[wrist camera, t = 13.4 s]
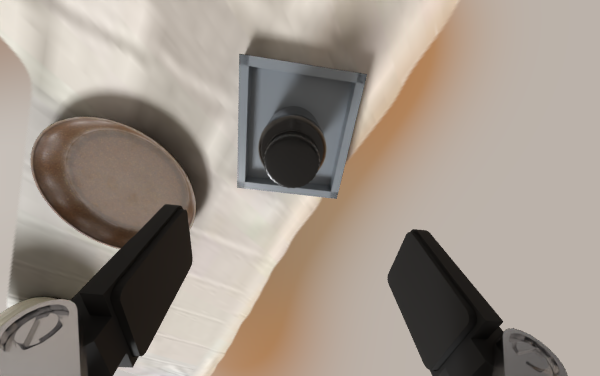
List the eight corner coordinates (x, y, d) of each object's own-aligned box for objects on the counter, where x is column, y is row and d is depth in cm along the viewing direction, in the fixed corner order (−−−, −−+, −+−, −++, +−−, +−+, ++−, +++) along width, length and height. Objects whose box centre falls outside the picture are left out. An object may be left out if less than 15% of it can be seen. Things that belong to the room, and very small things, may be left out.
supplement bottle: (329, 131, 30) (349, 164, 19) (293, 166, 32) (293, 213, 21) (292, 91, 27) (291, 103, 17) (256, 131, 29) (234, 165, 19)
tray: (244, 55, 26) (239, 53, 24) (361, 74, 27) (367, 74, 25) (241, 179, 33) (237, 187, 31) (333, 190, 34) (336, 198, 32)
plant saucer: (160, 258, 40) (149, 273, 37) (32, 185, 33) (6, 196, 30) (231, 183, 34) (225, 194, 31) (91, 74, 27) (66, 75, 24)
